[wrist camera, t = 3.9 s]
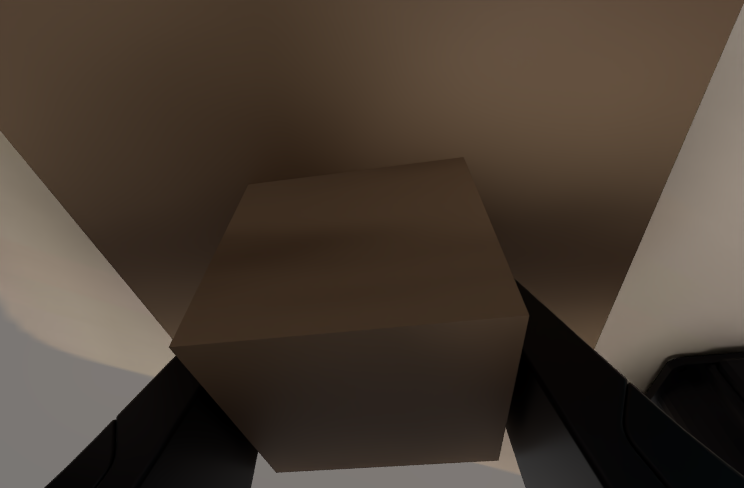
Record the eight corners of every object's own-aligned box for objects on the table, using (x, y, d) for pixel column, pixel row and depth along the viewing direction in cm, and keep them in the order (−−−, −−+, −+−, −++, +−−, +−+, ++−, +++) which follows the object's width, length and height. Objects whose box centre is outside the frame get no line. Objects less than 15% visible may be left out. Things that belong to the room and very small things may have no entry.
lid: (574, 352, 13) (652, 513, 10) (228, 379, 14) (179, 532, 11) (782, -203, 5) (2015, -608, 1) (-80, -32, 6) (-776, 22, 2)
